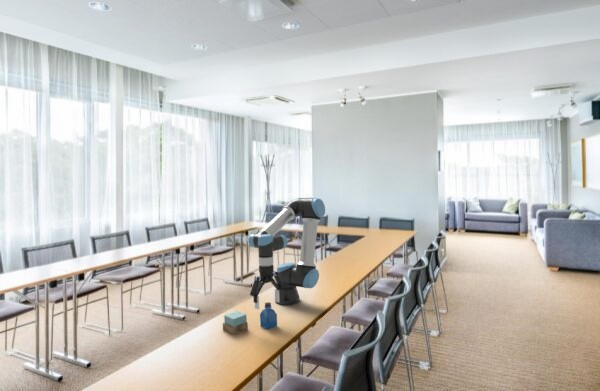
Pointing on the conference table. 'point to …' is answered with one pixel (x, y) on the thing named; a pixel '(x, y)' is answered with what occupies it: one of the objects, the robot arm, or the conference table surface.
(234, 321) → the teal slab
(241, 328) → the walnut slab
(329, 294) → the conference table surface
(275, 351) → the conference table surface
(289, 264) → the robot arm
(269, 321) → the perfume bottle
